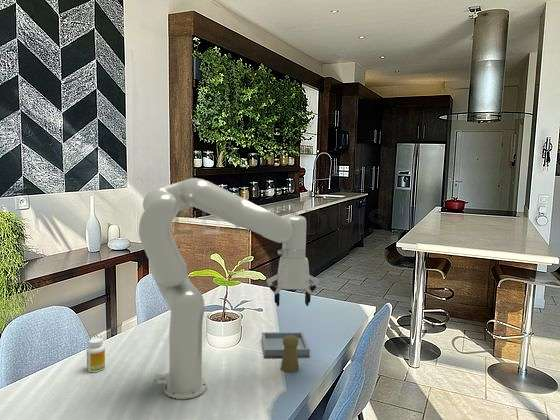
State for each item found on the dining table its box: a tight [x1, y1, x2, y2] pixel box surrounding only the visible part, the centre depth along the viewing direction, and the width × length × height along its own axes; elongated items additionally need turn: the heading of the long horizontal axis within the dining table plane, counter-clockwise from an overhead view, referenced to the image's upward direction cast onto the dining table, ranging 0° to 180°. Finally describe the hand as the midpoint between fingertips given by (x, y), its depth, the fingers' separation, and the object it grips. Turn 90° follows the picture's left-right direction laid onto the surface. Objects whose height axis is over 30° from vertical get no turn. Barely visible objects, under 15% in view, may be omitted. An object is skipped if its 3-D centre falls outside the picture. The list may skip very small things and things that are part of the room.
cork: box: [280, 335, 300, 374], centre depth 148 cm, size 6×6×11 cm
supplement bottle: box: [86, 337, 106, 373], centre depth 143 cm, size 5×5×10 cm
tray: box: [261, 331, 311, 359], centre depth 164 cm, size 16×16×3 cm
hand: (292, 304), depth 146 cm, fingers open, 9 cm apart
